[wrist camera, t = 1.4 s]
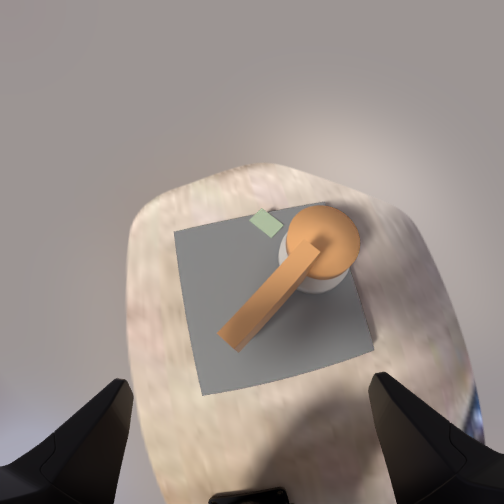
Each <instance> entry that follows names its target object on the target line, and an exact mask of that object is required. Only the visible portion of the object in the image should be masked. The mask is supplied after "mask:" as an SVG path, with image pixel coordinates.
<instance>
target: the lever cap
mask: <svg viewBox="0 0 504 504" xmlns="http://www.w3.org/2000/svg"><path fill="white" fill-rule="evenodd" d="M359 250H360V237H359V233H358V231H357V228H356V226H355V225H354V223H353V222H352V220H351V219H350V218H349V217H348V216H347V215H345V214H344V213H343V212H341V211H339V210H338V209H335V208H333V207H329V206H324V205H316V206H310V207H307V208H305V209H303V210H301V211H300V212H299V213H298V214H296V215H295V217H294V218H293V219H292V221H291V223H290V225H289V229H288V233H287V237H286V252H287V255H288V257H287V258H286V259H285V261H284V262H283V263H282V264H281V265H280V266H279V267H278V268H277V269H276V270H275V272H274V273H273V274H272V275H271V276H270V277H269V278H268V279H267V280H266V281H265V282H264V283H263V285H262V286H261V287H260V288H259V289H258V290H257V291H256V292H255V293H254V294H253V295H252V296H251V297H250V299H249V300H248V301H247V302H246V303H245V304H244V305H243V306H242V307H241V308H240V309H239V310H238V311H237V312H236V313H235V315H234V316H233V317H232V318H231V319H230V320H229V321H228V322H227V323H226V324H225V325H224V326H223V327H222V328H221V329H220V330H219V331H218V332H217V334H218V335H219V336H220V337H221V338H222V339H223V340H224V341H226V342H227V343H228V344H229V345H230V346H231V347H232V348H233V349H234V350H236V351H237V352H238V353H239V352H240V351H241V350H242V349H243V348H244V347H245V346H246V345H247V344H248V342H249V341H250V340H251V339H252V338H253V337H254V336H255V335H256V334H257V333H258V332H259V331H260V329H261V328H262V327H263V326H264V325H265V324H266V323H267V322H268V321H269V320H270V318H271V317H272V316H273V315H274V314H275V313H276V312H277V311H278V309H279V308H280V307H281V306H282V305H283V304H284V303H285V301H286V300H287V299H288V298H289V297H290V296H291V295H292V293H293V292H294V291H295V290H296V289H297V288H298V287H299V285H300V284H301V283H302V282H303V281H304V279H305V278H306V276H308V277H310V278H313V279H317V280H329V279H333V278H336V277H338V276H340V275H341V274H343V273H344V272H345V271H346V270H347V269H348V268H349V267H350V266H351V265H352V263H353V262H354V261H355V260H356V258H357V256H358V253H359Z"/></svg>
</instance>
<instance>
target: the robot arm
mask: <svg viewBox="0 0 504 504" xmlns="http://www.w3.org/2000/svg"><path fill="white" fill-rule="evenodd" d="M368 392H369V398H370V403H371V408H372V413H373V418H374V423H375V428H376V431H377V435H378V438H379V441H380V444H381V448H382V451H383V455H384V458H385V461H386V465H387V468H388V472H389V476H390V479H391V483H392V487H393V491H394V494H395V498H396V502H397V504H504V454H501V453H498V452H496V451H494V450H492V449H490V448H489V447H487V446H485V445H484V444H482V443H480V442H478V441H477V440H475V439H473V438H472V437H470V436H469V435H467V434H466V433H464V432H463V431H461V430H460V429H459V428H457V427H456V426H455V425H453V424H452V423H450V422H449V421H448V420H447V419H446V418H444V417H443V416H442V415H440V414H439V413H438V412H436V411H435V410H434V409H433V408H431V407H430V406H429V405H427V404H426V403H425V402H424V401H422V400H421V399H420V398H418V397H417V396H416V395H415V394H413V393H412V392H411V391H409V390H408V389H407V388H406V387H404V386H403V385H402V384H401V383H399V382H398V381H397V380H395V379H394V378H393V377H392V376H390V375H389V374H388V373H386V372H379V373H375V374H374V376H373V378H372V381H371V383H370V386H369V390H368ZM132 406H133V393H132V390H131V388H130V386H129V384H128V382H127V381H126V380H125V379H118V378H116V379H114V380H113V381H112V382H111V383H109V384H108V385H107V386H106V387H105V388H104V389H103V390H102V391H100V392H99V393H98V394H97V395H96V396H95V397H93V398H92V399H91V400H90V401H89V402H88V403H87V404H85V405H84V406H83V407H82V408H81V409H80V410H78V411H77V412H76V413H75V414H74V415H73V416H72V417H70V418H69V419H68V420H67V421H66V422H65V423H63V424H62V425H61V426H60V427H59V428H58V429H57V430H55V432H54V433H52V434H51V435H50V436H48V437H47V438H46V439H45V440H44V441H43V442H41V443H40V444H39V445H37V446H36V447H34V448H33V449H32V450H30V451H29V452H27V453H26V454H24V455H23V456H21V457H20V458H18V459H17V460H15V461H14V462H12V463H10V464H8V465H5V466H1V467H0V504H114V499H115V494H116V489H117V483H118V479H119V474H120V469H121V465H122V460H123V456H124V451H125V447H126V443H127V439H128V434H129V428H130V420H131V413H132ZM278 491H283V492H282V493H277V492H278ZM212 501H216V502H217V503H213V502H212ZM208 503H209V504H289V500H288V496H287V493H286V490H285V488H283V487H276V488H271V489H266V490H261V491H256V492H250V493H243V494H236V495H229V496H220V497H212V498H210V499H209V502H208ZM292 504H293V503H292Z"/></svg>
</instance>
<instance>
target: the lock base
mask: <svg viewBox="0 0 504 504" xmlns="http://www.w3.org/2000/svg"><path fill="white" fill-rule="evenodd" d="M316 205H324V206H326V204H325V202H321V203H315V204H309V205H304V206H298V207H293V208H287V209H282V210H276V211H271V212H266V211H265V210H264V209H262V208H261V209H260V210H259V211H258V212H257V213H256V214H255V215H251V216H246V217H241V218H236V219H231V220H226V221H221V222H217V223H212V224H207V225H202V226H198V227H193V228H189V229H184V230H180V231H175V232H174V237H175V246H176V254H177V261H178V268H179V275H180V282H181V289H182V295H183V301H184V307H185V313H186V319H187V324H188V330H189V335H190V341H191V346H192V351H193V356H194V360H195V365H196V370H197V374H198V379H199V383H200V388H201V392H202V396H204V395H210V394H216V393H222V392H227V391H232V390H238V389H243V388H247V387H252V386H257V385H261V384H265V383H270V382H274V381H278V380H282V379H286V378H289V377H293V376H297V375H300V374H304V373H307V372H311V371H314V370H318V369H321V368H324V367H327V366H330V365H334V364H337V363H340V362H343V361H346V360H348V359H351V358H354V357H357V356H360V355H363V354H365V353H368V352H371V351H373V350H374V346H373V343H372V339H371V335H370V332H369V328H368V325H367V321H366V318H365V315H364V311H363V308H362V305H361V302H360V298H359V295H358V292H357V289H356V286H355V283H354V280H353V277H352V274H351V271H350V267H349V268H348V269H347V270H346V271H345V272H344V273H343V274H341V275H340V276H338V277H336V278H333V279H329V280H317V279H313V278H310V277H308V276H306V278H305V279H304V281H303V282H302V283H301V284H300V285H299V287H298V288H297V289H296V290H295V291H294V292H293V293H292V295H291V296H290V297H289V298H288V299H287V300H286V301H285V303H284V304H283V305H282V306H281V307H280V308H279V309H278V311H277V312H276V313H275V314H274V315H273V316H272V317H271V318H270V320H269V321H268V322H267V323H266V324H265V325H264V326H263V327H262V328H261V329H260V331H259V332H258V333H257V334H256V335H255V336H254V337H253V338H252V339H251V340H250V341H249V342H248V344H247V345H246V346H245V347H244V348H243V349H242V350H241V351H240V352H239V353H238V352H237V351H236V350H234V349H233V348H232V347H231V346H230V345H229V344H228V343H227V342H226V341H224V340H223V339H222V338H221V337H220V336H219V335H218V334H217V332H218V331H219V330H220V329H221V328H222V327H223V326H224V325H225V324H226V323H227V322H228V321H229V320H230V319H231V318H232V317H233V316H234V315H235V313H236V312H237V311H238V310H239V309H240V308H241V307H242V306H243V305H244V304H245V303H246V302H247V301H248V300H249V299H250V297H251V296H252V295H253V294H254V293H255V292H256V291H257V290H258V289H259V288H260V287H261V286H262V285H263V283H264V282H265V281H266V280H267V279H268V278H269V277H270V276H271V275H272V274H273V273H274V272H275V270H276V269H277V268H278V267H279V266H280V265H281V264H282V263H283V262H284V261H285V259H286V258H287V257H288V255H287V252H286V237H287V233H288V229H289V225H290V223H291V221H292V219H293V218H294V217H295V215H296V214H298V213H299V212H300V211H301V210H303V209H305V208H307V207H310V206H316Z"/></svg>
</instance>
